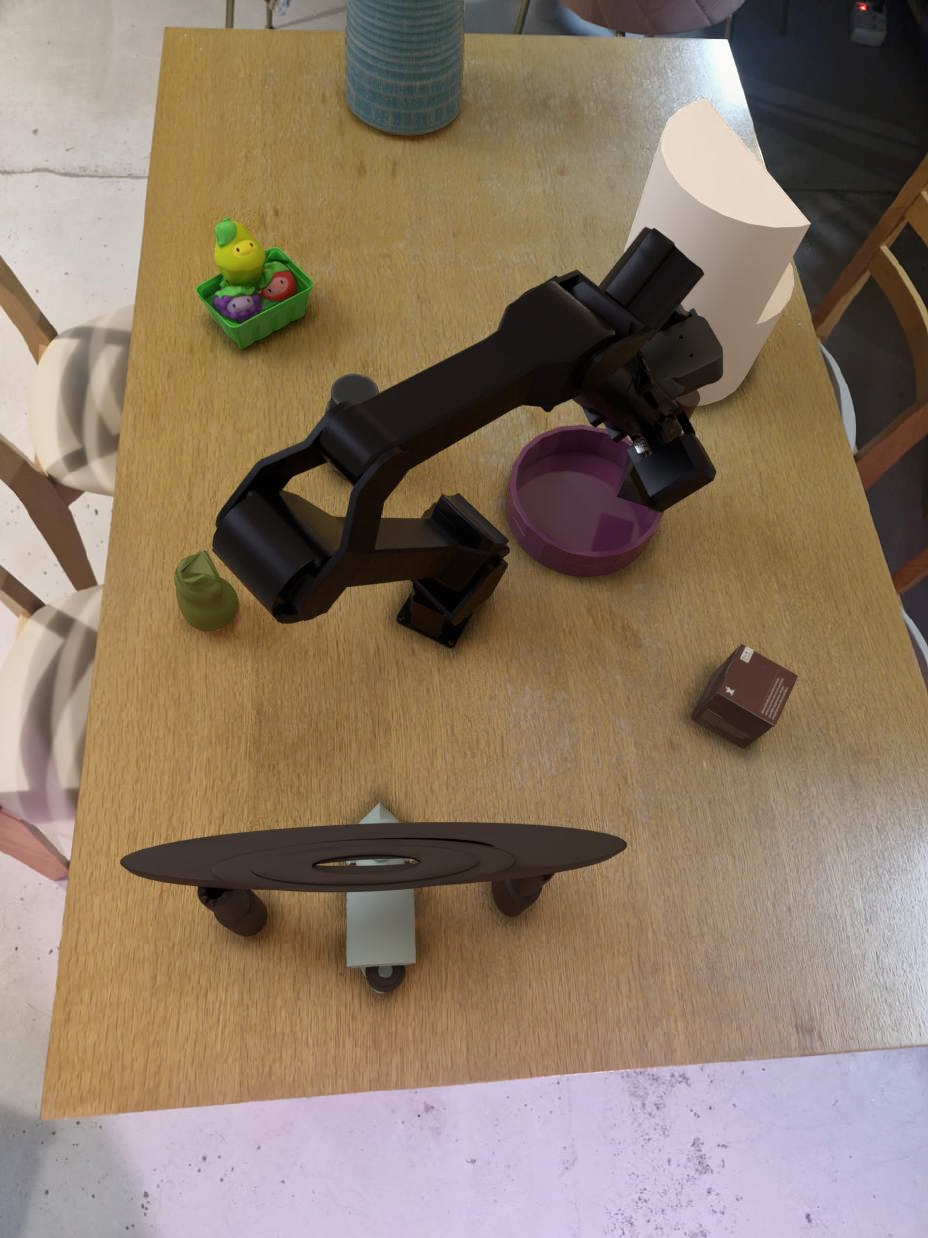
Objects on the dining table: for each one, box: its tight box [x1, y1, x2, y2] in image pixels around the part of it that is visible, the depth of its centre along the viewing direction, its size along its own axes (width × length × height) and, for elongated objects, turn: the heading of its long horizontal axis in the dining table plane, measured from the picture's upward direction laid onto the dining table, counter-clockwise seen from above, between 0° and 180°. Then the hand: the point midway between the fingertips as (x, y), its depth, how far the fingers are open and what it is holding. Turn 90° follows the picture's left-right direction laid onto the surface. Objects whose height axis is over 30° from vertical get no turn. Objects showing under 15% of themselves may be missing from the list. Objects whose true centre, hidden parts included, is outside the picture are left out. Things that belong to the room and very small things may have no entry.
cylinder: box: [622, 97, 812, 407], centre depth 92 cm, size 19×19×25 cm
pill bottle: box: [324, 373, 380, 480], centre depth 87 cm, size 6×6×11 cm
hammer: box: [617, 390, 700, 506], centre depth 81 cm, size 6×4×13 cm, turn 163°
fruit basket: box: [195, 216, 315, 350], centre depth 95 cm, size 11×9×11 cm
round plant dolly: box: [119, 802, 628, 995], centre depth 64 cm, size 16×21×33 cm
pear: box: [173, 549, 240, 633], centre depth 78 cm, size 6×5×10 cm
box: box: [690, 643, 799, 750], centre depth 80 cm, size 6×6×7 cm
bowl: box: [504, 424, 665, 578], centre depth 90 cm, size 16×16×4 cm
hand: (674, 437), depth 81 cm, fingers closed on hammer, 2 cm apart
